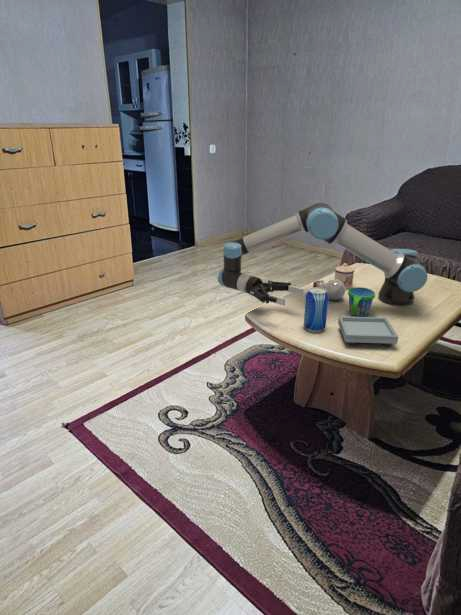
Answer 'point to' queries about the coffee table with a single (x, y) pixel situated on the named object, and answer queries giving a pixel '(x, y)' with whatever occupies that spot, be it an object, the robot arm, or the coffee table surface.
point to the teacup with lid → (344, 275)
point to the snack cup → (360, 301)
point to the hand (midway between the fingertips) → (294, 297)
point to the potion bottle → (332, 288)
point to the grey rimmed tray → (367, 330)
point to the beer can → (315, 310)
